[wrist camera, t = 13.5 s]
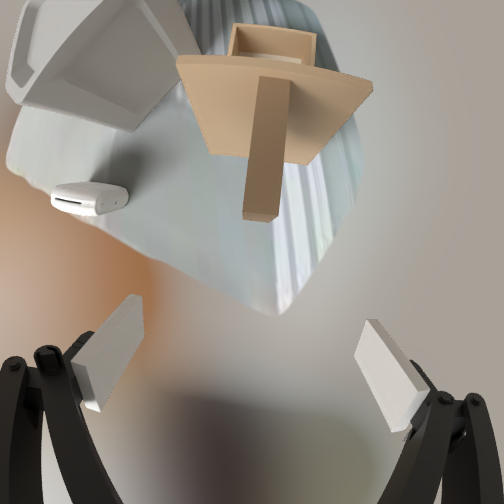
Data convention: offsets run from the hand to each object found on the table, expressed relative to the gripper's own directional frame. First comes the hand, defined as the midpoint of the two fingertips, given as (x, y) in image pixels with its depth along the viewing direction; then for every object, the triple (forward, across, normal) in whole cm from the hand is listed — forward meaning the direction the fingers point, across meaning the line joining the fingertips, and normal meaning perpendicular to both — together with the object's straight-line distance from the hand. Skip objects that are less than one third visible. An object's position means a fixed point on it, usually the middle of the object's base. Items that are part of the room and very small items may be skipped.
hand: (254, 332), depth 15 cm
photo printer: (+33, -27, +3) cm, 43 cm away
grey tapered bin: (+33, -24, +26) cm, 48 cm away
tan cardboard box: (+13, 0, +14) cm, 19 cm away
